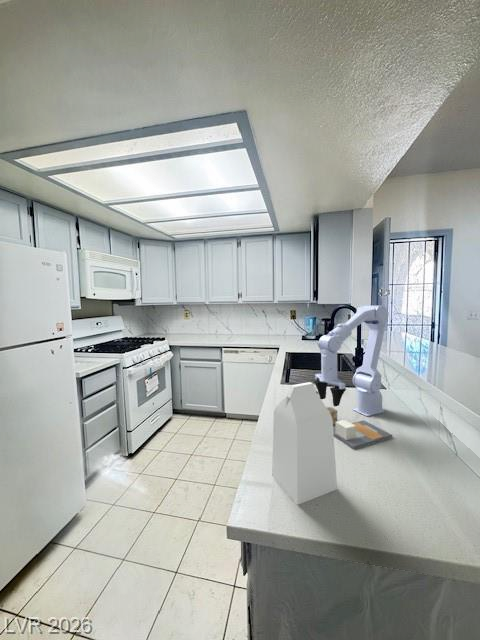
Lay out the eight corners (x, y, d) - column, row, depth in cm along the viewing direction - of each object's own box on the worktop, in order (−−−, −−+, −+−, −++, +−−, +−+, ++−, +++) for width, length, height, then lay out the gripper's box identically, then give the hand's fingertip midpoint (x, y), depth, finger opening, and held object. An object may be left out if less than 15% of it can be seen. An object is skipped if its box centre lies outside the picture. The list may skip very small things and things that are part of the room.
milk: (297, 504, 62) (295, 395, 60) (272, 475, 72) (269, 381, 71) (337, 489, 67) (337, 387, 65) (308, 463, 77) (307, 375, 75)
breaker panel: (363, 422, 101) (363, 420, 101) (392, 437, 90) (392, 434, 90) (327, 432, 95) (327, 429, 95) (353, 449, 84) (353, 446, 84)
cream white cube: (344, 430, 93) (344, 419, 93) (355, 437, 89) (355, 425, 88) (335, 433, 92) (335, 421, 91) (346, 440, 87) (346, 428, 87)
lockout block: (330, 419, 105) (330, 406, 105) (337, 423, 101) (337, 410, 101) (321, 421, 104) (321, 408, 103) (328, 425, 100) (328, 412, 100)
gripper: (308, 364, 106) (308, 397, 107) (334, 373, 93) (334, 411, 94) (323, 362, 109) (323, 394, 110) (350, 370, 95) (349, 407, 96)
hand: (329, 402), depth 102 cm, fingers open, 7 cm apart
